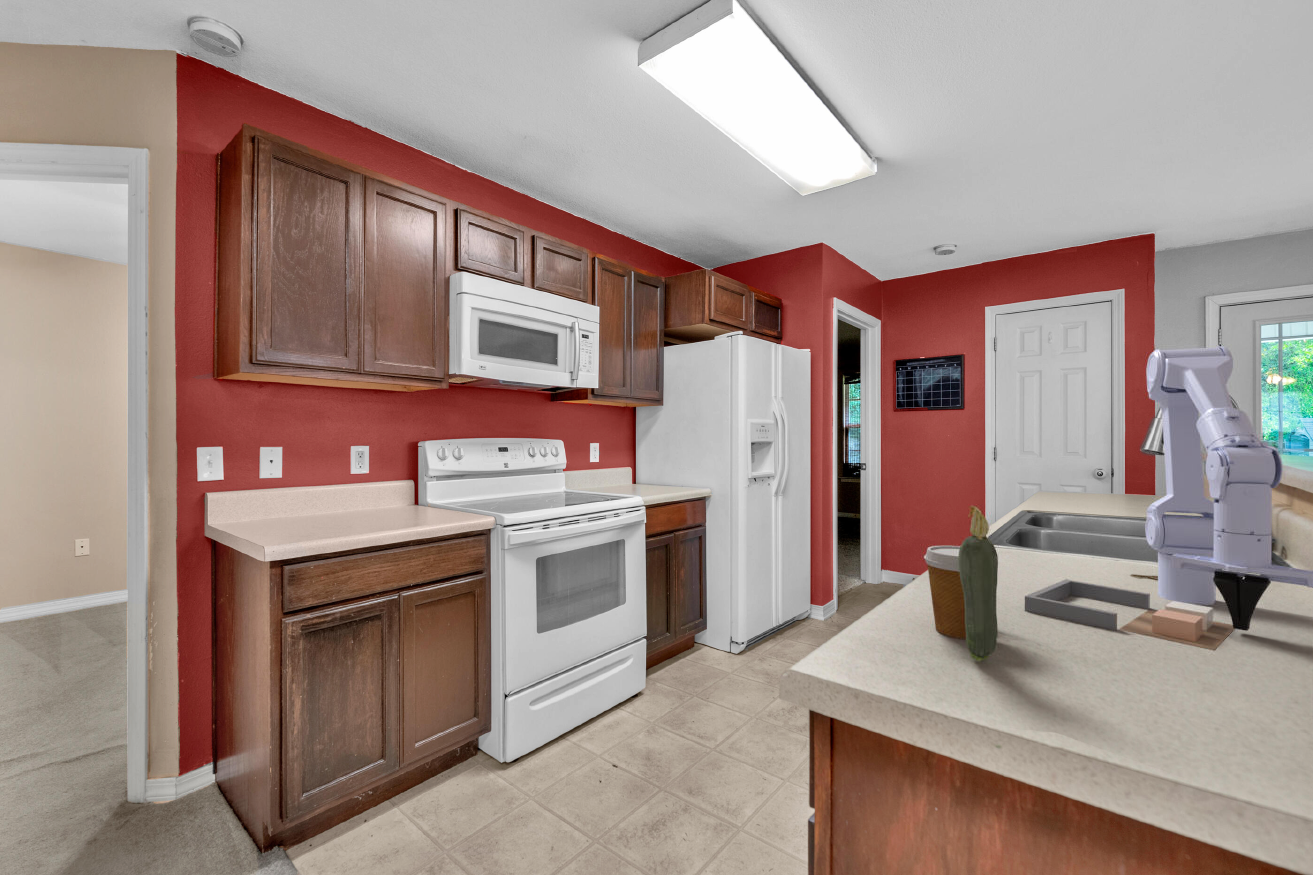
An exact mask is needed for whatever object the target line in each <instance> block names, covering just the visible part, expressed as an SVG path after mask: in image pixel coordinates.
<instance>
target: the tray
mask: <svg viewBox="0 0 1313 875" xmlns="http://www.w3.org/2000/svg"><path fill="white" fill-rule="evenodd" d="M1068 596H1076V597H1081V598H1087V599H1093V600H1097V601H1102V602H1107V603H1114V604H1119V605H1123V606H1129V607H1135V608H1139V609H1144V610H1145V609H1146V610H1149V609H1150V608H1151V598H1150V597H1151V593H1148V592H1141V591H1137V590H1130V589H1124V588H1118V587H1113V586H1106V585H1102V584H1095V583H1090V582H1084V581H1077V580H1073V579H1066V578H1065V579H1063V580H1061V581H1059V582H1056V583H1053V584H1052V585H1048V586H1046V587H1044V588H1041V589H1039V590H1036V591H1034V592H1032V593H1029V594H1027V595H1024V612H1029V613H1033V614H1038V615H1041V616H1047V617H1052V618H1055V619H1059V620H1064V621H1069V622H1073V623H1078V624H1081V625H1082V624H1083V625H1086V626H1087V625H1088V626H1092V627H1097V628H1101V629H1106V630H1110V631H1114V632H1115V631H1117V629H1118V613H1117V612H1114V611H1110V610H1109V611H1108V610H1104V609H1098V608H1093V607H1089V606H1085V605H1078V604H1074V603H1067V602H1064V601H1061V600H1062V599H1064V598H1066V597H1068Z"/></svg>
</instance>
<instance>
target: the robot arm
mask: <svg viewBox="0 0 1313 875" xmlns="http://www.w3.org/2000/svg"><path fill="white" fill-rule="evenodd" d="M1233 368H1234V358H1233V354H1232V353H1231V351H1230V350H1229V349H1228V348H1227V347H1226V346H1223V345H1221V346H1220V345H1219V346H1217V347H1202V348H1201V347H1200V348H1199V347H1198V348H1181V349H1179V348H1178V349H1159V348H1158V349H1155V350H1153V352H1151V353H1150V355H1149V356H1148V359H1147V365H1146V369H1145V370H1146V372H1145V374H1146V387H1147V389H1146V390H1147V393H1148V398H1149V400H1152V401H1155V402H1157V403H1159V407H1160V412H1161V418H1162V420H1161V421H1162V431H1163V432H1162V433H1163V450H1164V451H1163V452H1164V467H1165V468H1164V471H1165V487H1166V495H1165V496H1163V497H1161V498H1159V499H1158V500H1155V501H1154V502H1153V503H1151V504H1150V505H1149V506H1148V507H1147V509H1146V521H1145V525H1144V528H1145V529H1144V530H1145V531H1144V532H1145V539H1146V541H1147V544H1148V545H1149V546H1150V547H1151V548H1152V549H1153V550H1156V551H1157V596H1158V597H1159V598H1161V599H1165V600H1169V601H1171V602H1172V601H1177V602H1182V603H1188V604H1194V605H1200V606H1212V605H1215V604H1216V602H1218V600H1217V589H1218V591H1219V593H1220V594H1221V595H1220V596H1222V598H1223V600H1224V602H1225V604H1226V607H1227V609H1228V612H1229V614H1230V618H1231V622H1232V623H1231V624H1232V625H1233V628H1234V630H1240V631H1246V632H1247V631H1249V630H1250V625H1251V622H1252V621H1251V620H1252V619H1253V618H1252V617H1253V614H1254V612H1255V609H1256V607H1257V605H1258V603H1259V601H1260V599H1261V597H1263V595H1264V593H1265V591H1267V589H1268V587H1269V586H1270V585H1271V582H1276V583H1281V584H1282V583H1284V584H1291V585H1296V586H1298V585H1299V586H1304V587H1307V588H1313V570H1307V569H1300V568H1295V567H1291V566H1289V567H1287V566H1283V565H1277V564H1272V534H1273V532H1272V528H1273V526H1272V524H1273V522H1272V520H1273V519H1272V518H1273V517H1272V514H1273V513H1272V512H1273V511H1272V508H1273V506H1272V505H1273V504H1272V501H1273V499H1272V498H1273V495H1272V493H1273V489H1275V488H1277V486H1279V485H1280V483H1281V480H1282V477H1283V461H1282V457H1281V455H1280V453H1279V450H1278V449H1277V448H1276V447H1274V446H1272V445H1270V444H1269V443H1268V442H1266V441H1261V439H1260V438H1259V436H1258V434H1257V432H1256V431H1255V430H1256V429H1255V428H1254V425H1253V424H1252V422H1251V421H1250V418H1249V416H1248V414H1247V413H1246V412H1245V411H1243V410H1241V409H1238V408H1234V407H1233V404H1232V400H1231V396H1230V394H1229V390H1228V387H1227V384H1228V381H1229V378H1231V375H1232V374H1233ZM1201 441H1202V442H1201ZM1202 443H1203V446H1204V448H1205V451H1206V454H1207V457H1206V460H1205V474H1206V478H1207V481H1208V486H1209V487H1208V488H1209V490H1208V491H1209V495H1210V498H1213V501H1212V500H1211V499H1209V498H1207V497H1206V496H1205V488H1204V472H1203V460H1202V459H1203V458H1202V446H1201V444H1202ZM1166 513H1167V514H1166ZM1168 513H1175V514H1168ZM1177 513H1178V514H1177ZM1179 513H1180V514H1179ZM1182 513H1183V514H1182ZM1186 514H1187V515H1186ZM1188 514H1197V515H1188ZM1219 602H1222V603H1223V601H1221V600H1219Z"/></svg>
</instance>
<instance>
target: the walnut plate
mask: <svg viewBox="0 0 1313 875" xmlns="http://www.w3.org/2000/svg"><path fill="white" fill-rule="evenodd" d="M1157 611H1158V610H1155V609H1150V608H1149V609H1147V611H1145V612H1143V613H1141V614H1140V615H1139V616H1137V617H1135V618H1134V619H1132V620H1131V621H1129V622H1128V623H1126V624H1125V625H1123V626H1122V627H1120V628H1119V629H1118V630H1119V631H1124V632H1128V633H1132V634H1138V635H1142V636H1146V637H1151V638H1154V639H1155V638H1156V639H1160V640H1164V641H1169V642H1174V643H1178V644H1184V645H1188V646H1192V647H1197V648H1202V649H1206V650H1209V651H1210V650H1212V651H1215V650H1216V649H1217V648H1218V647H1219V646H1220V645H1221V644H1222V643H1223V642H1224V641H1225V640H1226V639H1227V637H1229V636H1230V634H1231V633H1232V632H1233V631H1234V630H1235V629H1234V628H1233V624H1232V623H1231V624H1229V623H1226V622H1225V623H1224V622H1221V621H1220V622H1219V621H1216V620H1215V621H1214V620H1213V625H1212V626H1211V627H1210V628H1209V629H1208V630H1207V631H1204V630H1202V635H1201V636H1200V637H1199V638H1198V639H1197V640H1196V641H1191V640H1186V639H1181V638H1177V637H1172V636H1167V635H1162V634H1158V633H1153V632H1152V615H1153V614H1154V613H1156V612H1157Z"/></svg>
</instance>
